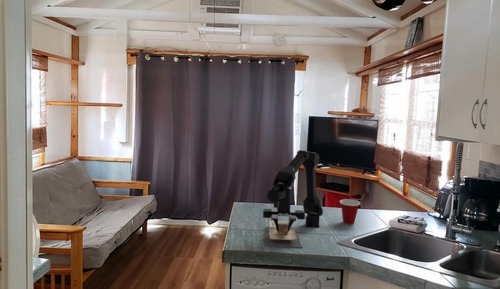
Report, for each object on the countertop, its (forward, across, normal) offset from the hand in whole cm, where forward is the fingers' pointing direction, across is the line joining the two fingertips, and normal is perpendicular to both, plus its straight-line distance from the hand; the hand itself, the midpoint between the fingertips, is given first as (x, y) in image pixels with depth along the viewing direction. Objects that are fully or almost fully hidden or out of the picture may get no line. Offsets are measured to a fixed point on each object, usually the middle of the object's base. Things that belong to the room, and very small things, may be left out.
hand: (282, 232), depth 167 cm
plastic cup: (+4, -39, -34) cm, 52 cm away
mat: (+4, 0, 0) cm, 4 cm away
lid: (+1, 0, 0) cm, 1 cm away
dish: (+4, 0, -16) cm, 16 cm away
